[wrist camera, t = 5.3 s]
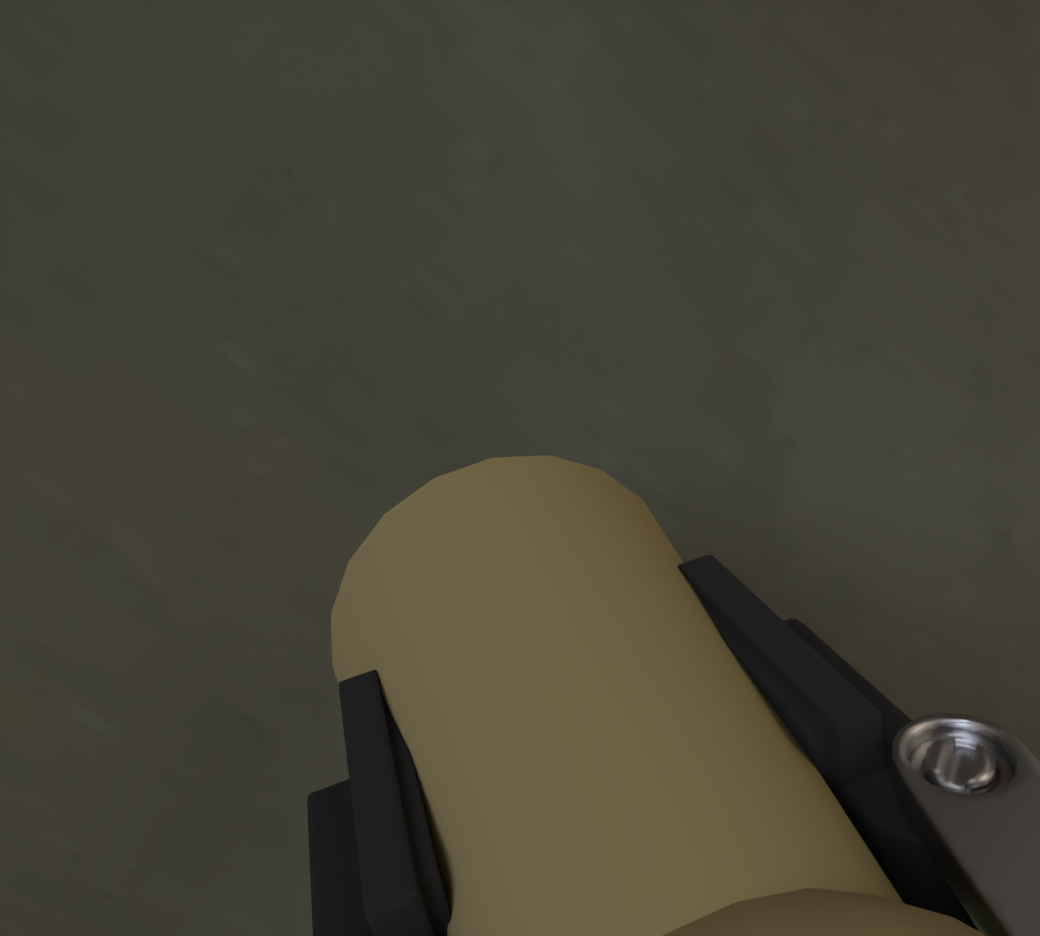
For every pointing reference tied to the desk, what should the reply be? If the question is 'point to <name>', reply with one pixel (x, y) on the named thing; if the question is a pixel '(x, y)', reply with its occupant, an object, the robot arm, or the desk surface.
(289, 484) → the desk surface
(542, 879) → the brown tapered tall piece
